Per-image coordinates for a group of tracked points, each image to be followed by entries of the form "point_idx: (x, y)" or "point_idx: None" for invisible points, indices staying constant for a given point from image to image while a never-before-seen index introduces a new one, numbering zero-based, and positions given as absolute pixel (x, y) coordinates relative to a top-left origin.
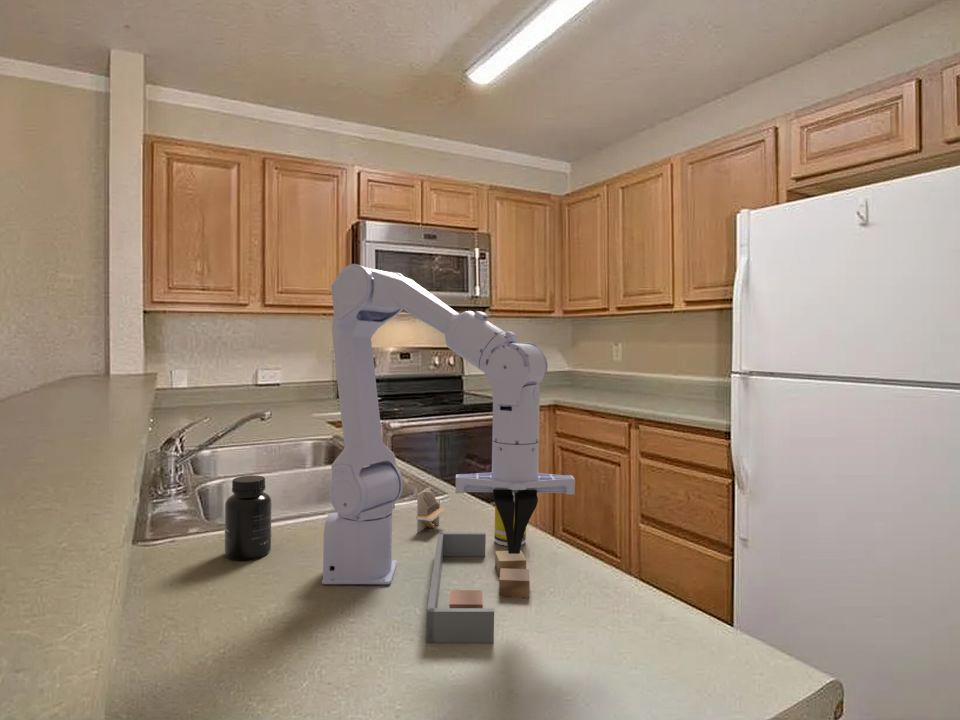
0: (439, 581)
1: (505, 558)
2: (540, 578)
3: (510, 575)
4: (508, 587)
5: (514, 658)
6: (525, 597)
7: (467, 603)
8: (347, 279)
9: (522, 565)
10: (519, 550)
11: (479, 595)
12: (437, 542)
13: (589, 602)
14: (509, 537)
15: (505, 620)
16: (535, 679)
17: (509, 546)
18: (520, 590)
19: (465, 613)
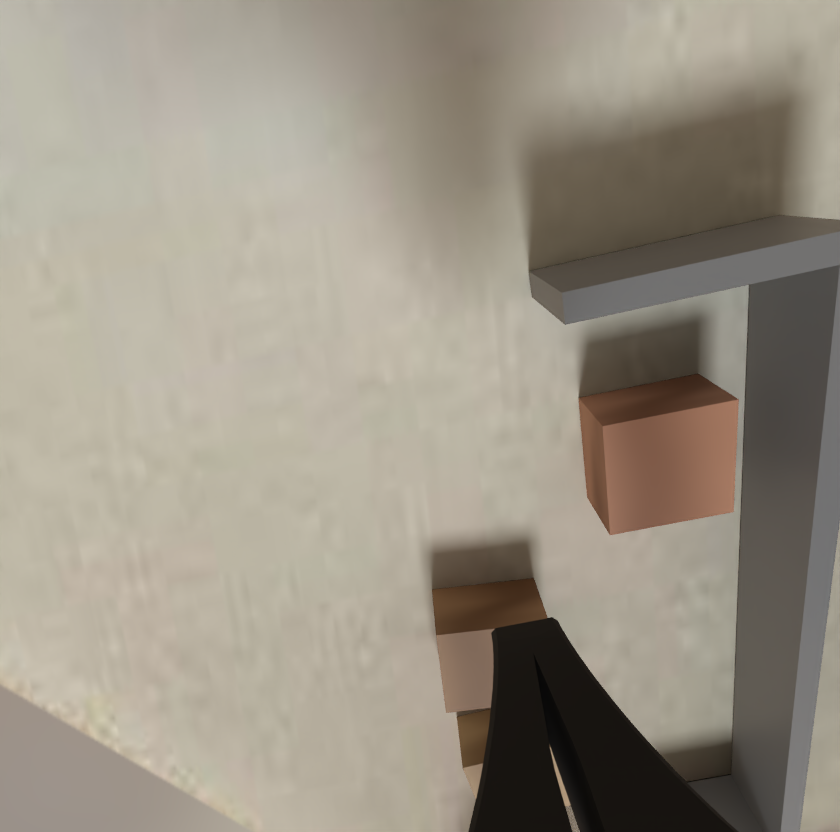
0: (755, 601)
1: None
2: (409, 710)
3: None
4: (509, 605)
5: (442, 175)
6: (445, 590)
7: (664, 421)
8: None
9: (473, 747)
10: (497, 640)
11: (618, 494)
12: (801, 800)
13: (232, 604)
14: (586, 691)
15: (499, 434)
16: (345, 30)
17: (565, 644)
18: (465, 604)
19: (690, 260)
